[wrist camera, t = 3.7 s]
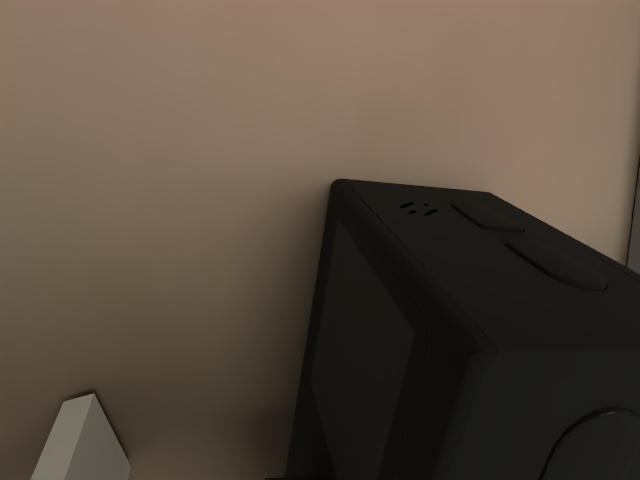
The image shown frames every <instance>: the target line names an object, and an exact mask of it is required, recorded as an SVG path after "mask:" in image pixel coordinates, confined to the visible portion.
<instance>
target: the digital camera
mask: <svg viewBox="0 0 640 480" xmlns="http://www.w3.org/2000/svg"><path fill="white" fill-rule="evenodd" d="M344 180H345V181H346V182H347V183H348V184H347V183H346V182H345V181H344ZM353 190H354V191H355V192H356V193H357V194H358V195H359V196H360V197H361V198H362V199H363V200H362V199H361V198H360V197H359V196H358V195H357V194H356V193H355V192H354V191H353ZM410 202H413V203H414V204H411V203H410ZM366 204H367V205H368V206H367V205H366ZM424 204H429V205H428V206H425V205H424ZM433 209H437V210H438V211H436V212H435V213H432V212H431V210H433ZM374 212H375V213H374ZM408 212H413V213H414V214H409V213H408ZM382 221H383V222H384V223H385V224H386V225H387V226H388V227H387V226H386V225H385V224H384V223H383V222H382ZM391 231H392V232H393V233H394V234H395V235H396V236H397V237H398V238H399V239H400V240H399V239H398V238H397V237H396V236H395V235H394V234H393V233H392V232H391ZM404 245H405V246H406V247H407V248H408V249H409V250H410V251H409V250H408V249H407V248H406V247H405V246H404ZM417 259H418V260H417ZM430 273H431V274H432V275H431V274H430ZM265 480H640V274H638V273H637V272H635V271H633V270H631V269H629V268H627V267H626V266H624V265H622V264H620V263H618V262H616V261H615V260H613V259H611V258H609V257H607V256H605V255H603V254H602V253H600V252H598V251H596V250H594V249H592V248H591V247H589V246H587V245H585V244H583V243H581V242H580V241H578V240H576V239H574V238H572V237H570V236H569V235H567V234H565V233H563V232H561V231H559V230H558V229H556V228H554V227H552V226H550V225H548V224H547V223H545V222H543V221H541V220H539V219H537V218H536V217H534V216H532V215H530V214H528V213H526V212H525V211H523V210H521V209H519V208H517V207H515V206H513V205H512V204H510V203H508V202H506V201H504V200H502V199H501V198H499V197H497V196H495V195H493V194H491V193H488V192H480V191H468V190H457V189H447V188H436V187H425V186H414V185H403V184H393V183H382V182H371V181H360V180H349V179H338V180H336V181H335V182H334V183H333V184H332V187H331V193H330V199H329V206H328V212H327V218H326V224H325V230H324V237H323V243H322V249H321V255H320V262H319V268H318V274H317V280H316V286H315V293H314V299H313V305H312V311H311V318H310V324H309V330H308V336H307V342H306V349H305V355H304V361H303V367H302V374H301V380H300V386H299V392H298V399H297V405H296V411H295V418H294V424H293V430H292V437H291V443H290V449H289V456H288V462H287V468H286V475H285V477H283V478H266V479H265Z"/></svg>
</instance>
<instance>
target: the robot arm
mask: <svg viewBox="0 0 640 480" xmlns="http://www.w3.org/2000/svg"><path fill="white" fill-rule="evenodd" d="M130 469H131V466H130V464H129V462H128V460H127V458H126V456H125V454H124V452H123V450H122V448H121V446H120V444H119V442H118V440H117V438H116V436H115V434H114V432H113V430H112V428H111V426H110V424H109V422H108V420H107V418H106V416H105V414H104V412H103V410H102V408H101V406H100V404H99V402H98V400H97V398H96V396H95V394H94V393H93V394H90V395H86V396H82V397H79V398H75V399H71V400H68V401H64V402H63V404H62V406H61V409H60V411H59V413H58V416H57V418H56V421H55V423H54V425H53V428H52V430H51V432H50V435H49V437H48V439H47V442H46V444H45V447H44V449H43V451H42V454H41V456H40V458H39V461H38V463H37V465H36V468H35V470H34V473H33V475H32V477H31V480H128V479H129V474H130Z"/></svg>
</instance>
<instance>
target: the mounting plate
mask: <svg viewBox="0 0 640 480" xmlns="http://www.w3.org/2000/svg"><path fill="white" fill-rule="evenodd" d="M627 268H629V269H631V270H633V271H635V272H637V273H638V274H640V168H639V176H638V183H637V191H636V199H635V207H634V215H633V223H632V231H631V239H630V247H629V255H628V263H627Z"/></svg>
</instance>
